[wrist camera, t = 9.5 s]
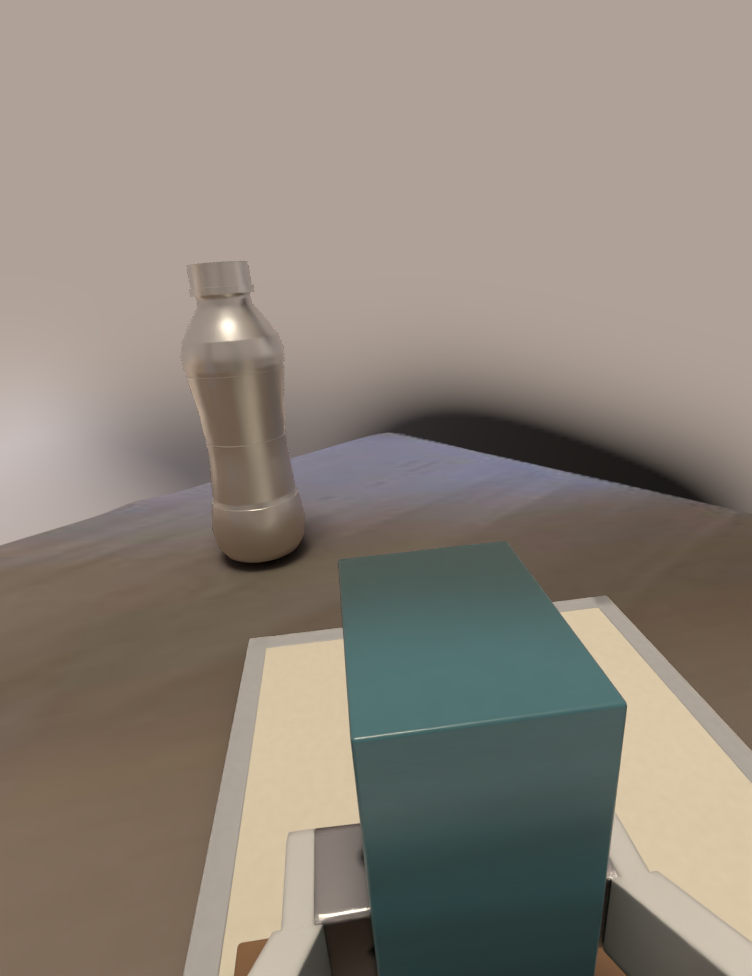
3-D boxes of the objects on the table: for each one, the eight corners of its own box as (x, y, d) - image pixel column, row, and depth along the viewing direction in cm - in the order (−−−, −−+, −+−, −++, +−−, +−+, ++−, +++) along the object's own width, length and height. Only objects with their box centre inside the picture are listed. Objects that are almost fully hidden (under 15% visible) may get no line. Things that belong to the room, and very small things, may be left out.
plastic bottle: (235, 534, 43) (186, 269, 36) (317, 532, 43) (283, 260, 36) (205, 575, 37) (138, 267, 30) (299, 573, 37) (254, 257, 30)
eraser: (755, 1241, 10) (982, 693, 6) (219, 1353, 9) (-35, 838, 5) (618, 940, 15) (678, 507, 10) (252, 1001, 14) (139, 567, 9)
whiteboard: (1282, 1364, 9) (1311, 1346, 9) (65, 1659, 8) (48, 1650, 7) (605, 607, 31) (606, 594, 30) (251, 651, 29) (249, 638, 29)
